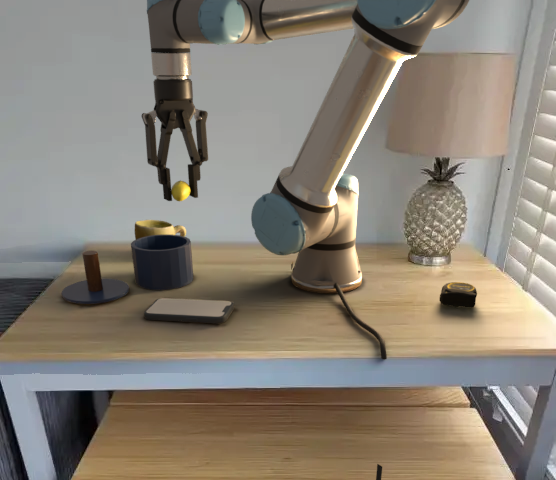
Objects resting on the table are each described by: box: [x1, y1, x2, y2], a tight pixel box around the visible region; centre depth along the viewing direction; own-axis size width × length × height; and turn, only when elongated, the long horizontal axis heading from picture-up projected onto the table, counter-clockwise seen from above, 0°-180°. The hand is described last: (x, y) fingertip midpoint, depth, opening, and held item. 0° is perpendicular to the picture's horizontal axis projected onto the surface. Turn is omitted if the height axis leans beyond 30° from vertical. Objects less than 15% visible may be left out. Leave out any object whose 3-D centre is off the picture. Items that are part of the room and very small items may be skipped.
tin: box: [130, 234, 194, 291], centre depth 133 cm, size 13×13×8 cm
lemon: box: [171, 179, 191, 202], centre depth 130 cm, size 4×8×4 cm, turn 178°
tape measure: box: [439, 281, 478, 309], centre depth 121 cm, size 7×7×4 cm
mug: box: [134, 219, 187, 240], centre depth 149 cm, size 12×10×10 cm
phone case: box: [143, 297, 235, 325], centre depth 118 cm, size 9×2×16 cm
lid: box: [61, 250, 130, 305], centre depth 126 cm, size 14×14×9 cm
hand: (181, 197), depth 131 cm, fingers closed on lemon, 5 cm apart
